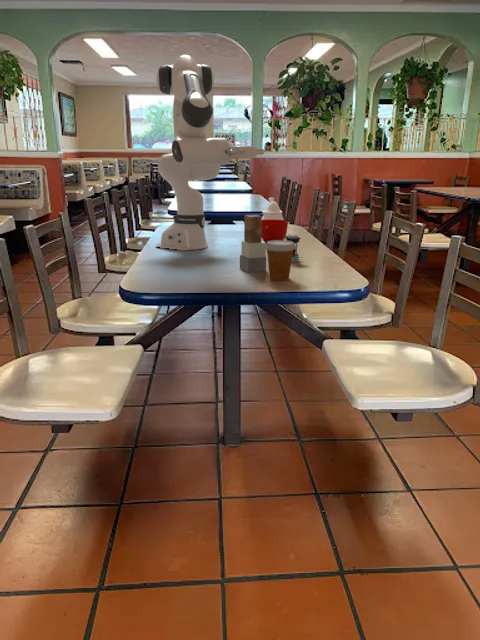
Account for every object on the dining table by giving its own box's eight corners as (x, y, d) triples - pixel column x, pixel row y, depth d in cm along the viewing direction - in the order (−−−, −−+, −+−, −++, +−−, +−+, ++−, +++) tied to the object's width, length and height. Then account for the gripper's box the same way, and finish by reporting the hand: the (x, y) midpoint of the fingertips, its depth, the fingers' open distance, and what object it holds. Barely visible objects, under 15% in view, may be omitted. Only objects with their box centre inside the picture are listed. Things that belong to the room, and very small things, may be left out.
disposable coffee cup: (263, 275, 169) (263, 240, 165) (290, 274, 169) (292, 239, 166) (266, 282, 160) (267, 245, 156) (296, 281, 160) (297, 244, 157)
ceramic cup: (251, 246, 219) (251, 223, 216) (264, 240, 234) (264, 218, 231) (279, 248, 214) (280, 225, 211) (290, 242, 229) (291, 220, 226)
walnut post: (250, 243, 171) (250, 216, 168) (244, 241, 175) (244, 215, 172) (261, 242, 173) (261, 216, 170) (255, 240, 176) (255, 214, 173)
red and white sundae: (255, 234, 251) (255, 197, 245) (277, 232, 256) (278, 196, 250) (266, 238, 240) (267, 200, 234) (289, 236, 245) (291, 199, 239)
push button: (301, 259, 193) (302, 234, 189) (303, 262, 188) (304, 236, 184) (284, 259, 193) (285, 234, 189) (285, 262, 188) (286, 236, 184)
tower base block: (248, 272, 173) (248, 258, 171) (239, 268, 179) (239, 254, 177) (265, 270, 175) (266, 257, 174) (257, 266, 181) (257, 253, 180)
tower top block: (248, 258, 171) (248, 244, 170) (241, 254, 177) (241, 240, 175) (265, 257, 174) (265, 242, 172) (258, 253, 179) (258, 239, 178)
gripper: (232, 141, 158) (270, 141, 164) (209, 141, 176) (244, 142, 181) (232, 162, 160) (270, 162, 166) (209, 160, 178) (244, 160, 183)
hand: (256, 151), depth 174 cm, fingers open, 8 cm apart
